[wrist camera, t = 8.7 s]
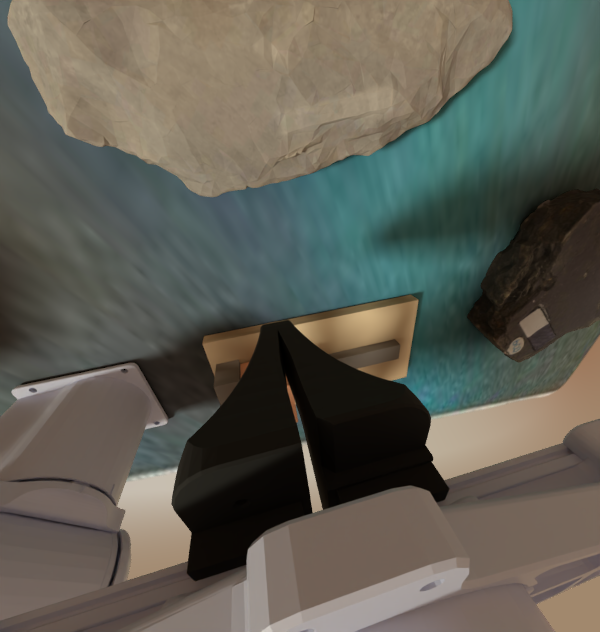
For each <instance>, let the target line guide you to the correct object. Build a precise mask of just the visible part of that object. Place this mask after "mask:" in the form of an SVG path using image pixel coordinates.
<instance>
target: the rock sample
mask: <svg viewBox="0 0 600 632" xmlns="http://www.w3.org/2000/svg"><path fill="white" fill-rule="evenodd" d="M481 288H482V289H483V293H482V296H481V297H480V299H479V300H478V301H476V302H475V304H474V307H473V308H472V309H471V311H470V312H469V314H468V315H467V318H468V319H469V320H470V321H471V323H472V324H473V325H474V326H475V327H476V328H477V329H478V330H479V331H480V332H481V333H482V334H483V335H484V336H485V337H486V338H487V339H488V340H489V341H490V342H491V343H492V344H493V345H495V346H496V347H497V348H498V349H500V350H501V351H502V352H503V353H504V355H506V356H507V357H509V358H511V359H513V360H515V361H517V362H521V361H523V360H525V359H528V358H530V357H532V356H534V355H535V354H537V353H538V352H540V351H542V350H543V349H545V348H546V347H548V346H549V345H550V344H552V343H553V342H555V341H556V340H557V339H559V338H560V337H562V336H563V335H564V334H566V333H568V332H571V331H575V330H578V329H582V328H586V327H589V326H591V325H592V324H593V323H594V322H596V321H598V320H600V190H598V189H594V190H591V191H588V192H584V191H580V190H571V191H568V192H566V193H564V194H562V195H560V196H558V197H557V198H555V199H553V200H552V201H550V200H547V201H545V202H543V203H542V204H541V205H539V206H538V208H537V209H536V211H535V212H534V213H531V214H530V215H529V216H528V218H526V219H525V220H524V221H523V223H522V224H521V226H520V229H519V231H518V233H517V235H516V237H515V238H514V240H511V242H510V245H509V246H508V247H507V248H506V249H505V250H503V251H501V252H499V253H498V254H497V255H496V257H495V258H494V260H493V261H492V263H491V265H490V267H489V269H488V271H487V273H486V277H485V278H484V279H483V281H482V283H481Z"/></svg>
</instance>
